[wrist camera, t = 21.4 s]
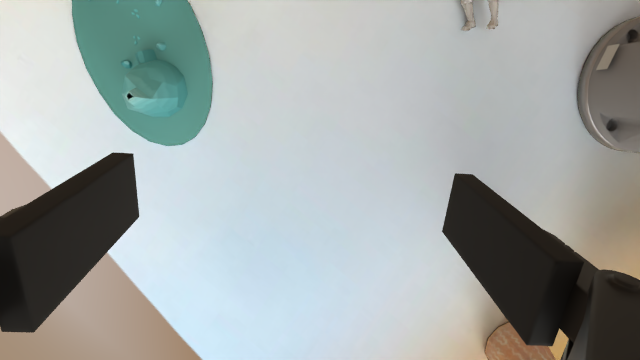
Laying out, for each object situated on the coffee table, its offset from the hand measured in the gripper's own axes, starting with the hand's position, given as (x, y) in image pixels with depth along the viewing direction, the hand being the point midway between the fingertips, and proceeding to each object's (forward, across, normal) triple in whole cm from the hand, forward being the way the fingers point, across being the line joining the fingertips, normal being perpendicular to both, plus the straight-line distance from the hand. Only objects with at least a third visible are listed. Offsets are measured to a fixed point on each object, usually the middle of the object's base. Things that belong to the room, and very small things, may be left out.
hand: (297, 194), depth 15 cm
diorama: (+27, -16, +4) cm, 31 cm away
